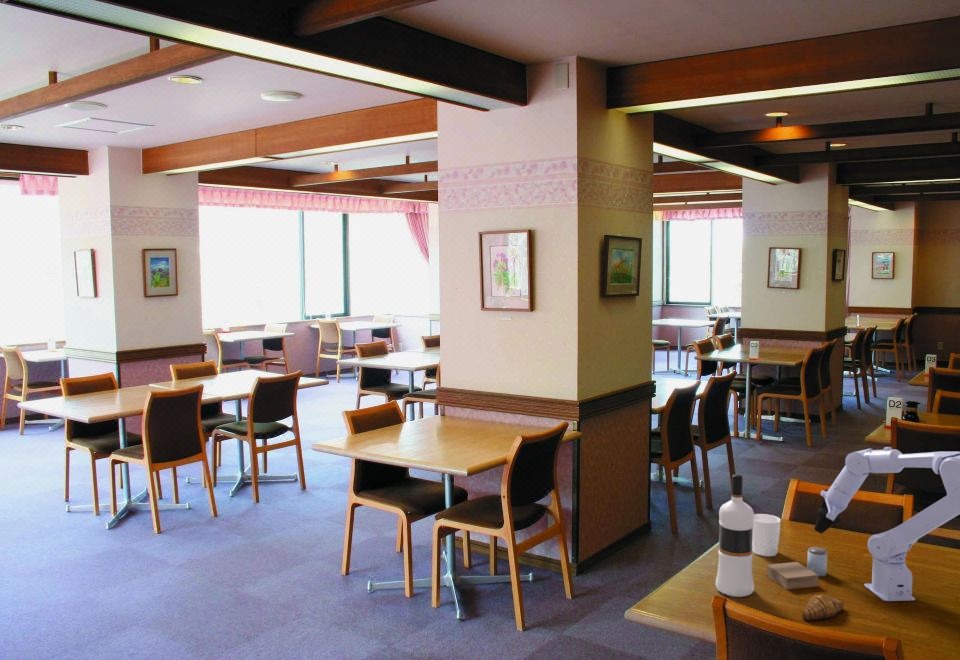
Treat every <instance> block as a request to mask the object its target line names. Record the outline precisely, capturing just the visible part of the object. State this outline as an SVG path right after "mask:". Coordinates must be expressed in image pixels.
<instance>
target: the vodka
mask: <svg viewBox="0 0 960 660" xmlns="http://www.w3.org/2000/svg"><path fill="white" fill-rule="evenodd" d="M743 477H744V476H743V475H741V474H736V473H735V474H732V475H731V499H730V500H728V501H727V502H725V503H723V504H722V505H721V506H720V507H719V511H718V512H719V513H718V515H719V516H718V517H719V520H718V524H719V529H718V530H719V531H718V533H719V534H718V536H719V539H718V541H719V542H718V551H717V553H718V565H717V573H716V578H715V587H716V590H717V591H718V592H719V593H721V594H723V595H725V594H726V596H727V597H728V596H730V597H734V598H742V597H743V598H744V597H748V596H750V595H752V594H753V593H754V591H755V582H754V578H753V577H754V576H753V557H754V552H753V550H752V540H753V526H754V523H753V521H754V515H755V513H754V510H753V508H752V506H750V504H748V503H746V502H744V500H743V489H744V487H743V485H744V483H743V481H744V479H743Z"/></svg>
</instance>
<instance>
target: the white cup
mask: <svg viewBox="0 0 960 660" xmlns="http://www.w3.org/2000/svg"><path fill="white" fill-rule="evenodd" d="M753 523H754V526H753V540H752V553H753V554H756V555H758V556H763V557H775V556H776V555H778V546H779V543H780V542H779V541H780V534H781V533H780V531H781V518H780V517H778V516H776V515H773V514H767V513H754V521H753Z"/></svg>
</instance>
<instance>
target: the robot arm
mask: <svg viewBox="0 0 960 660" xmlns="http://www.w3.org/2000/svg"><path fill="white" fill-rule="evenodd" d="M844 462H845V463H844V464H845V465H844V467H843V468H842V469H841V471H840V473H839V474H838V475H837V477H836V478H835V479H834V481H833V483H832V484H831V486H830V487H829V489H824V490H821V491H820V496H821V497H823V499H822V502H821V505H820V507H819V509H818V513H817V515H818V518H817V521H816V523H815V525H814V528H813V529H814V531H815V532H817V533H819V534H821V535H822V534H823V533H824V532H826V531H827V530H828V529H830V528H832V527H833V526H837V525H839V524H840V523H841V520H842V519H841V518H840V517H838V515H840V514H841V513H842V512H843V511H845V510H846V509H847V507H848V505H849V503H850V502H851V500H852V499H853V497H854V496H855V495H856V494H857V492H858V490H859V489H860V488H861V486H862V485H863V483H865V480H866V479H867V477H868V476H869V474H871V473H872V474H890V473H891V474H893V473H895V474H896V473H900V472H901V471H903V469H904V468H925V469H931V470H932V471H933V472H934V473H935V474H936V475H940V477H941V480H942V484H943V486H944V489H945V491H946V495H945V496H943V497H942V498H940V499H939V500H937V501H935V502H934V503H932V504H931V505H929V506H927V507H926V508H924V509H923V510H921V511H919V512H918V513H917V514H915V515H913V516H912V517H910V518H908V519H907V520H906V521H903V522H902V523H901V524H899V525H897V526H895V527H894V528H891V529H889V530H887V531H884V532H880V533H875V534H872V535H871V536H870V537H869V538H868V540H867V549H868V551H869V553H870V554H871V556H872V570H871V571H872V574H871V583H864V587H865V588H867V589H868V590H869V591H871V592H872V593H873V594H874V595H876V596H877V598H880V599H881V600H882V601H884V602H901V601H903V602H904V601H905V602H907V601H915V600H916V598H915V597H914V596H912V595H913V578H914V577H913V573H912V571H911V570H910V569H909V568H908V566H907V564H906V559H907V558H906V557H907V553H908V552H910V550H911V549H912V547H913V545H914V544H915V543H917V542H918V540H920V539H921V538H922V537H924V536H925V535H927V534H929V533H930V532H932V531H934V530H936V529H937V528H939V527H941V526H942V525H944V524H946V523H948V522H949V521H951V520H952V519H954V518H956V517H958V516H959V515H960V451H932V452H930V451H929V452H917V453H915V452H914V453H902V452H901V451H900V450H899V449H894V448H893V449H892V446H885V447H883V449H873V448H867V449H862V450H858V451H853V452H851V453H850V452H849V453H848V454H847V455H846V457H845V461H844Z"/></svg>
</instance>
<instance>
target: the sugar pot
mask: <svg viewBox="0 0 960 660" xmlns="http://www.w3.org/2000/svg"><path fill="white" fill-rule="evenodd" d="M806 559H807V560H806V561H807V562H806V564H807V565H806V568H808V569H809V570H811V571H813V572H814V573H816V574H817V575H818V577H825V576H826V575H827V566H828V551H827V550H826V549H825V548H822V547H819V546H810V547H808V549H807V558H806Z"/></svg>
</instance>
